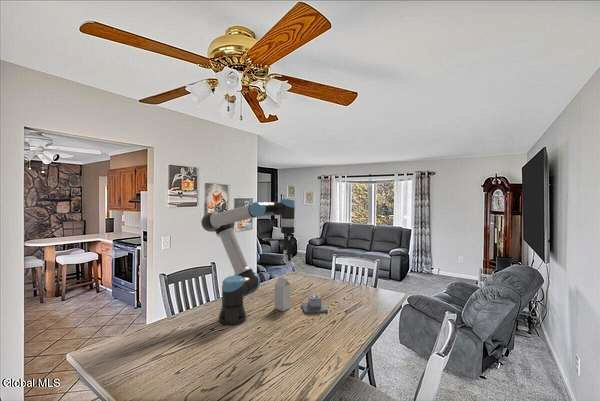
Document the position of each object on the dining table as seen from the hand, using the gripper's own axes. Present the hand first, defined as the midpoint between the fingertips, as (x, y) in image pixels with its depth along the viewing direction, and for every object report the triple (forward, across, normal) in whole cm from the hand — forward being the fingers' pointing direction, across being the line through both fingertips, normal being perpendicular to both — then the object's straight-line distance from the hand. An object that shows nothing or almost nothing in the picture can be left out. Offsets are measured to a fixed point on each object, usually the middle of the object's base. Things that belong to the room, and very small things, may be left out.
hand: (287, 264), depth 161 cm
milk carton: (+32, +18, 0) cm, 37 cm away
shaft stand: (+32, +15, -19) cm, 40 cm away
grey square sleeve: (+30, +15, -19) cm, 39 cm away
